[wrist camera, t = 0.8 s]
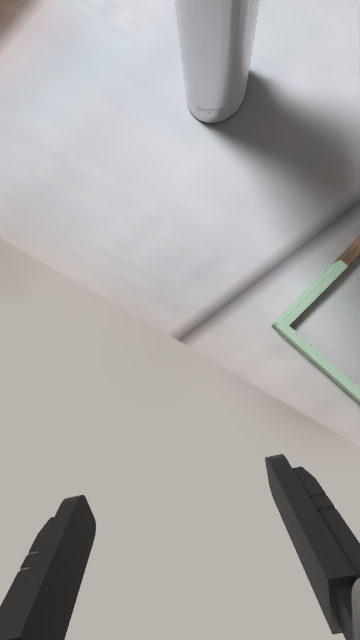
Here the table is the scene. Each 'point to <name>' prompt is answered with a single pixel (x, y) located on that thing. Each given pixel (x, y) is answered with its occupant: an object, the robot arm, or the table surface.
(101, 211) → the table surface
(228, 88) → the robot arm
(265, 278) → the table surface
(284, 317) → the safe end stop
